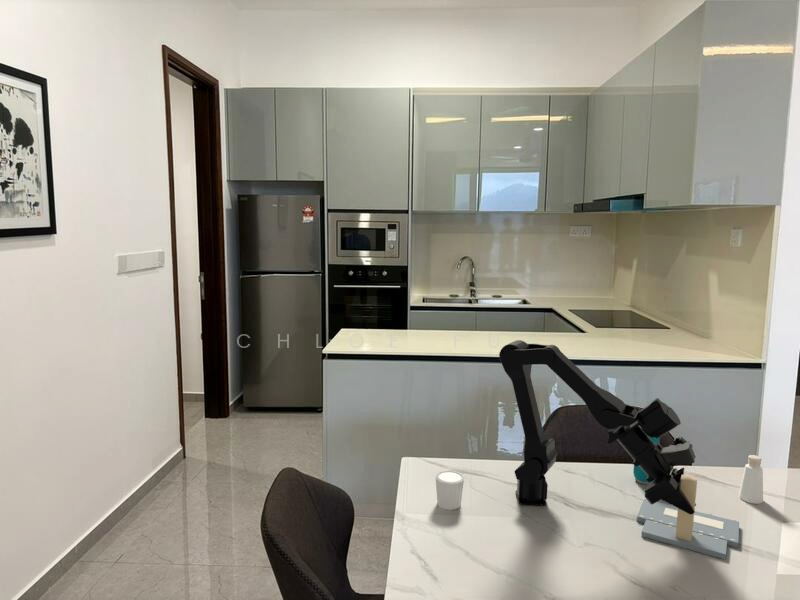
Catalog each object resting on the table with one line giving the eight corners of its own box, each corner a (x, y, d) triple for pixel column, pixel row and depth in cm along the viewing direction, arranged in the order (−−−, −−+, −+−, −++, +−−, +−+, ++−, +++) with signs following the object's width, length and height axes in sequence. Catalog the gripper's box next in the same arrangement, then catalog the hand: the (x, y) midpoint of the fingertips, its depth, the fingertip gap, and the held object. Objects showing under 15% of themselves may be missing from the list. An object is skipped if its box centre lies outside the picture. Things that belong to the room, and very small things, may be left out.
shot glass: (431, 507, 136) (431, 479, 135) (440, 495, 143) (440, 468, 142) (458, 513, 134) (459, 485, 133) (466, 500, 140) (467, 473, 139)
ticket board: (636, 521, 131) (637, 515, 131) (643, 503, 140) (644, 498, 140) (737, 548, 121) (738, 542, 121) (738, 526, 130) (739, 521, 129)
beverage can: (653, 477, 154) (658, 423, 152) (658, 486, 149) (662, 431, 147) (631, 474, 155) (635, 421, 153) (634, 484, 150) (638, 429, 148)
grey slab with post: (641, 536, 125) (646, 474, 123) (645, 523, 130) (650, 464, 128) (725, 559, 117) (732, 494, 115) (726, 545, 122) (733, 482, 120)
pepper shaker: (741, 491, 147) (745, 450, 145) (766, 499, 143) (770, 457, 141) (735, 498, 143) (739, 456, 141) (760, 506, 139) (764, 463, 137)
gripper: (666, 443, 114) (725, 510, 110) (677, 416, 130) (728, 474, 126) (622, 471, 119) (676, 536, 115) (637, 442, 135) (685, 498, 131)
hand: (693, 509), depth 122 cm, fingers closed on grey slab with post, 3 cm apart
